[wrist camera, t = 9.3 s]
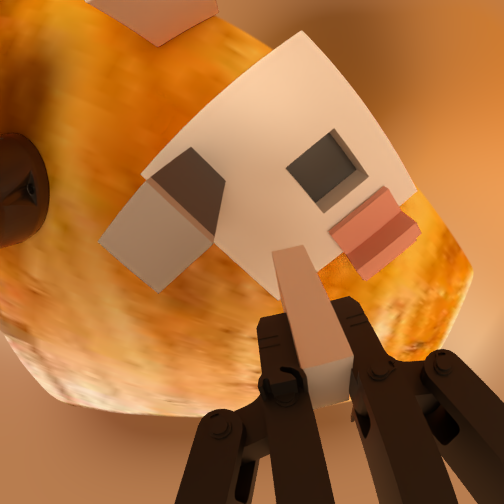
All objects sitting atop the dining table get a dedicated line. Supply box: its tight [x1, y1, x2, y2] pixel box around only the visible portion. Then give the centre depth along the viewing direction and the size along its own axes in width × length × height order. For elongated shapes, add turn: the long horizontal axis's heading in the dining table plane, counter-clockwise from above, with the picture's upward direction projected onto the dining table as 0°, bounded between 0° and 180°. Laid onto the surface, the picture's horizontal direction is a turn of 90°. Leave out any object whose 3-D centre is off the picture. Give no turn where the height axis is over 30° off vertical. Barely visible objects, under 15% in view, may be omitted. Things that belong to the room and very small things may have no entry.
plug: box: [98, 147, 226, 294], centre depth 19 cm, size 4×4×13 cm
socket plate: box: [141, 31, 417, 300], centre depth 26 cm, size 20×20×4 cm
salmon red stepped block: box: [328, 186, 421, 281], centre depth 26 cm, size 8×8×4 cm
